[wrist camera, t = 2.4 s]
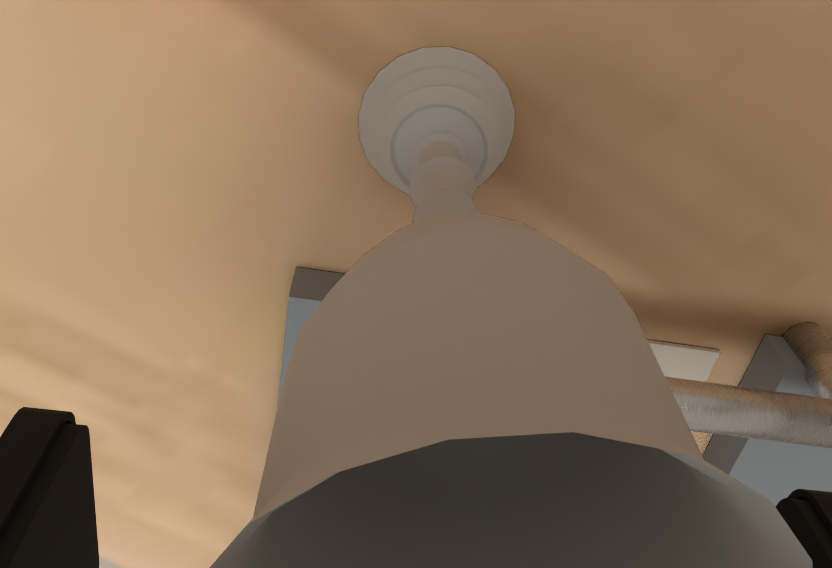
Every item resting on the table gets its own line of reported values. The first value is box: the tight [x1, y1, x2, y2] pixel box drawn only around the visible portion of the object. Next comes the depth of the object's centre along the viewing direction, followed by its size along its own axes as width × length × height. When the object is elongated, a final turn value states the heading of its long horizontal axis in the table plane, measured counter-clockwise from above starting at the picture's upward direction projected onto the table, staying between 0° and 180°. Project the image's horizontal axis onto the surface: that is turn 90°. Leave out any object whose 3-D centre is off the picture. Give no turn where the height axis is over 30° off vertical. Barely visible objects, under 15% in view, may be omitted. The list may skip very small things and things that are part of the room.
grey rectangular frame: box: [278, 267, 832, 507], centre depth 31 cm, size 24×18×2 cm
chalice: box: [210, 47, 813, 568], centre depth 16 cm, size 7×7×18 cm
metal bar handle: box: [665, 323, 832, 449], centre depth 25 cm, size 17×2×6 cm, turn 80°
